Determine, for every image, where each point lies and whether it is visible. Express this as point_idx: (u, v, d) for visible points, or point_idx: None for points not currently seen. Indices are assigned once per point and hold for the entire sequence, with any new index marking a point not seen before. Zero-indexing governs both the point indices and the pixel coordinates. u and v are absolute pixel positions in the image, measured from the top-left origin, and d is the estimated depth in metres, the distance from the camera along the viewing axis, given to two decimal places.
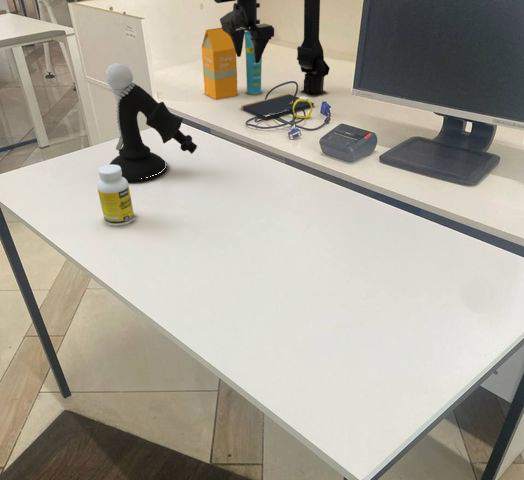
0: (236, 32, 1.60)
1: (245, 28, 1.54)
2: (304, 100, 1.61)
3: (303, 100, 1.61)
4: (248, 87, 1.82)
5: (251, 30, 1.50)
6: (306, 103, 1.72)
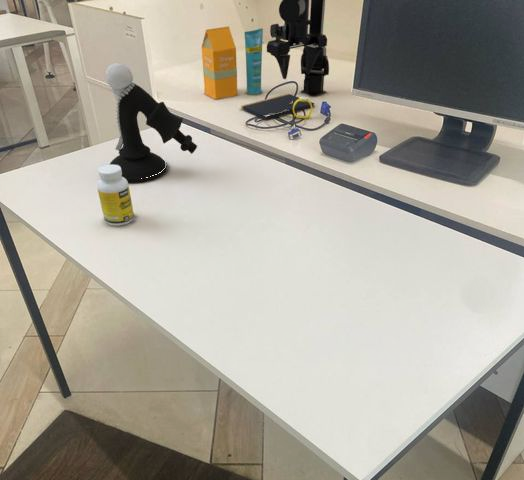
0: (309, 48, 1.56)
1: None
2: (304, 100, 1.61)
3: (303, 100, 1.61)
4: (248, 87, 1.82)
5: None
6: (306, 103, 1.72)
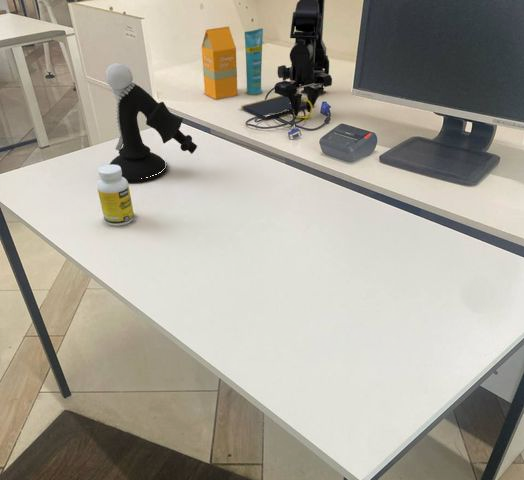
0: (310, 89, 1.62)
1: None
2: (304, 100, 1.61)
3: (303, 100, 1.61)
4: (248, 87, 1.82)
5: None
6: (306, 103, 1.72)
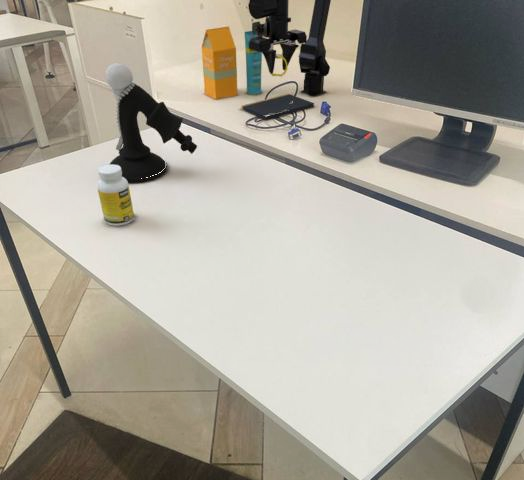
0: (285, 46, 1.63)
1: None
2: (279, 57, 1.61)
3: (278, 57, 1.61)
4: (248, 87, 1.82)
5: None
6: (306, 103, 1.72)
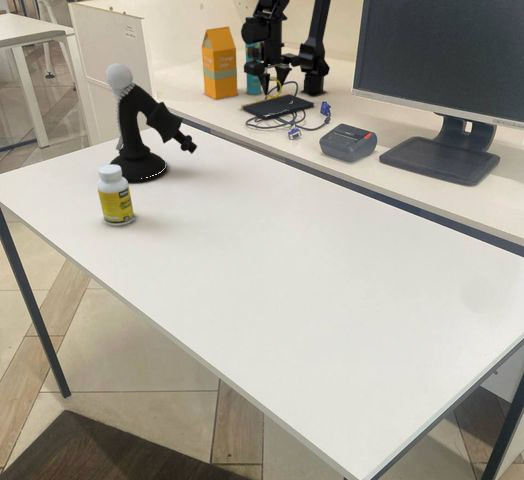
0: (279, 69, 1.69)
1: None
2: (273, 80, 1.68)
3: (272, 80, 1.68)
4: (248, 87, 1.82)
5: None
6: (306, 103, 1.72)
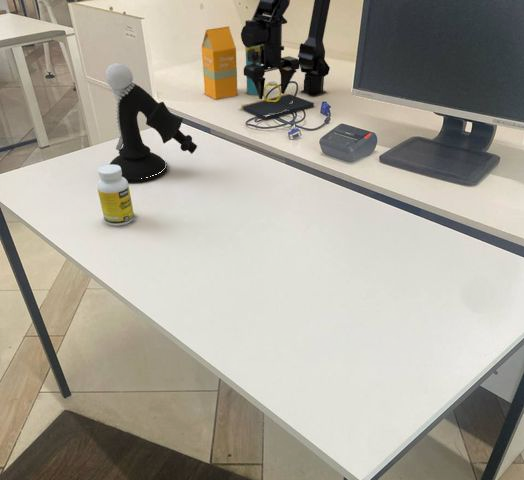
0: (283, 71, 1.70)
1: None
2: (273, 84, 1.69)
3: (272, 84, 1.69)
4: (248, 87, 1.82)
5: None
6: (306, 103, 1.72)
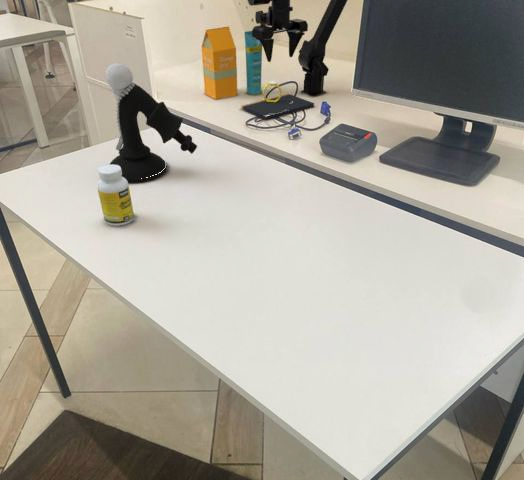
0: (291, 33, 1.70)
1: None
2: (273, 84, 1.69)
3: (272, 84, 1.69)
4: (248, 87, 1.82)
5: None
6: (306, 103, 1.72)
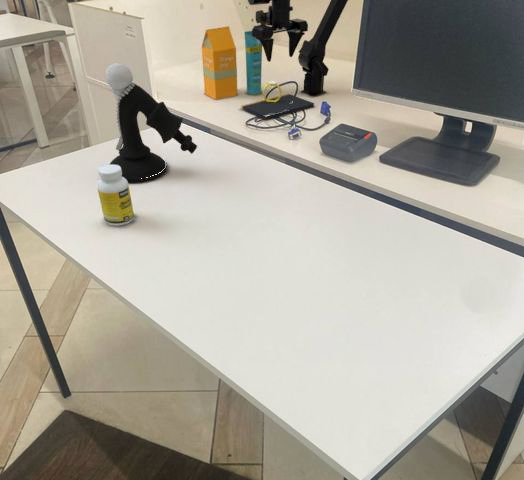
0: (291, 33, 1.70)
1: None
2: (273, 84, 1.69)
3: (272, 84, 1.69)
4: (248, 87, 1.82)
5: None
6: (306, 103, 1.72)
